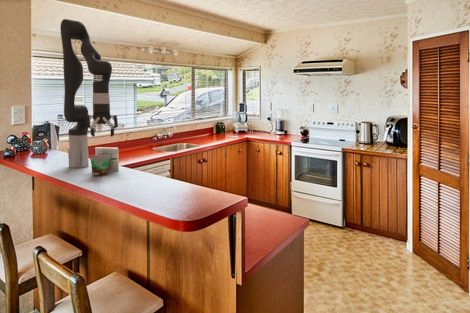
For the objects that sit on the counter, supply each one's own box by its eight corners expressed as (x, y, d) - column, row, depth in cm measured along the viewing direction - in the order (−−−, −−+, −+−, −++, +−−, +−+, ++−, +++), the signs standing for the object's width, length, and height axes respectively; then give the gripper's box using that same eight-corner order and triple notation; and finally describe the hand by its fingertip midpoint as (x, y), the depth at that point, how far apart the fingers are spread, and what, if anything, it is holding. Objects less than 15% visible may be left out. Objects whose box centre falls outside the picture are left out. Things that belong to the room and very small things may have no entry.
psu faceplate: (95, 171, 183) (95, 148, 181) (96, 170, 185) (95, 147, 183) (118, 171, 185) (117, 148, 183) (118, 170, 187) (118, 147, 185)
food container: (102, 177, 170) (102, 156, 168) (90, 176, 171) (89, 156, 169) (114, 172, 182) (114, 152, 180) (103, 171, 183) (102, 152, 181)
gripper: (118, 103, 176) (119, 135, 179) (87, 102, 174) (89, 135, 177) (115, 103, 169) (116, 137, 172) (83, 102, 167) (85, 137, 169)
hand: (102, 136), depth 174 cm, fingers open, 8 cm apart
